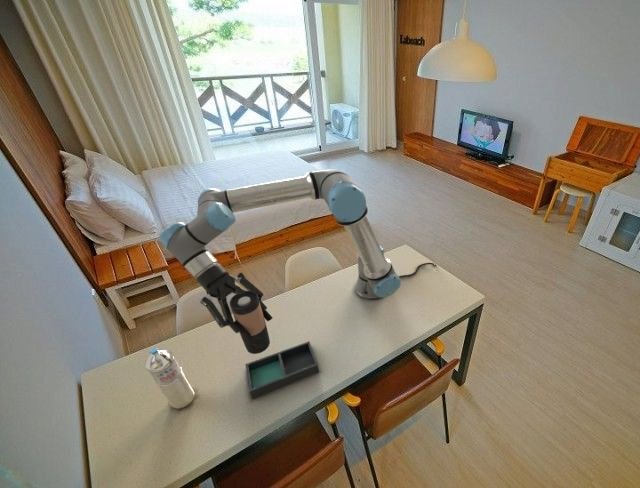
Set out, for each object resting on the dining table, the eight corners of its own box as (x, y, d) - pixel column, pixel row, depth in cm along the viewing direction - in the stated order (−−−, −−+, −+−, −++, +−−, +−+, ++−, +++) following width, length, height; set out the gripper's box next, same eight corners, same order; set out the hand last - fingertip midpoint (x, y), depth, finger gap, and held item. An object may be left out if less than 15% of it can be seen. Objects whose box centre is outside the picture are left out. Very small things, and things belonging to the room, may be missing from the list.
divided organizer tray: (310, 348, 122) (309, 341, 120) (319, 372, 114) (317, 364, 112) (248, 371, 113) (245, 364, 111) (252, 399, 105) (249, 391, 103)
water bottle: (169, 413, 100) (136, 364, 86) (173, 394, 105) (141, 344, 92) (194, 405, 103) (165, 356, 89) (196, 386, 108) (169, 337, 94)
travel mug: (262, 356, 99) (247, 311, 88) (240, 352, 100) (223, 306, 89) (275, 337, 105) (263, 292, 94) (254, 333, 106) (239, 288, 95)
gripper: (232, 257, 103) (279, 310, 106) (170, 295, 87) (227, 356, 91) (240, 248, 98) (289, 304, 101) (176, 287, 83) (236, 351, 86)
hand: (260, 328), depth 96 cm, fingers closed on travel mug, 7 cm apart
